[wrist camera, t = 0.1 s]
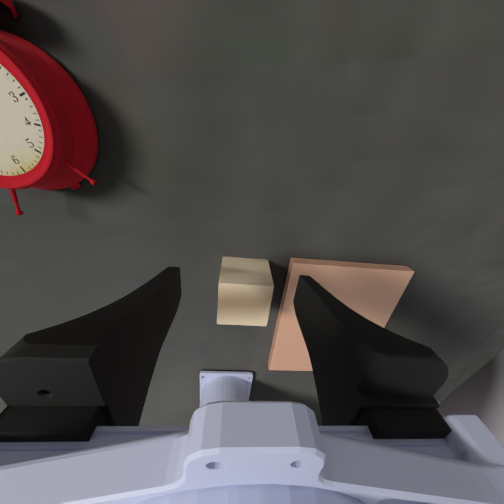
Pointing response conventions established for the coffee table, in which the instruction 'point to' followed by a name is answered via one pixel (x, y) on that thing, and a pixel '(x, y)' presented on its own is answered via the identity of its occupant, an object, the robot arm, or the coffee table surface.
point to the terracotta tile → (344, 289)
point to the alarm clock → (41, 121)
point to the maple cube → (244, 291)
